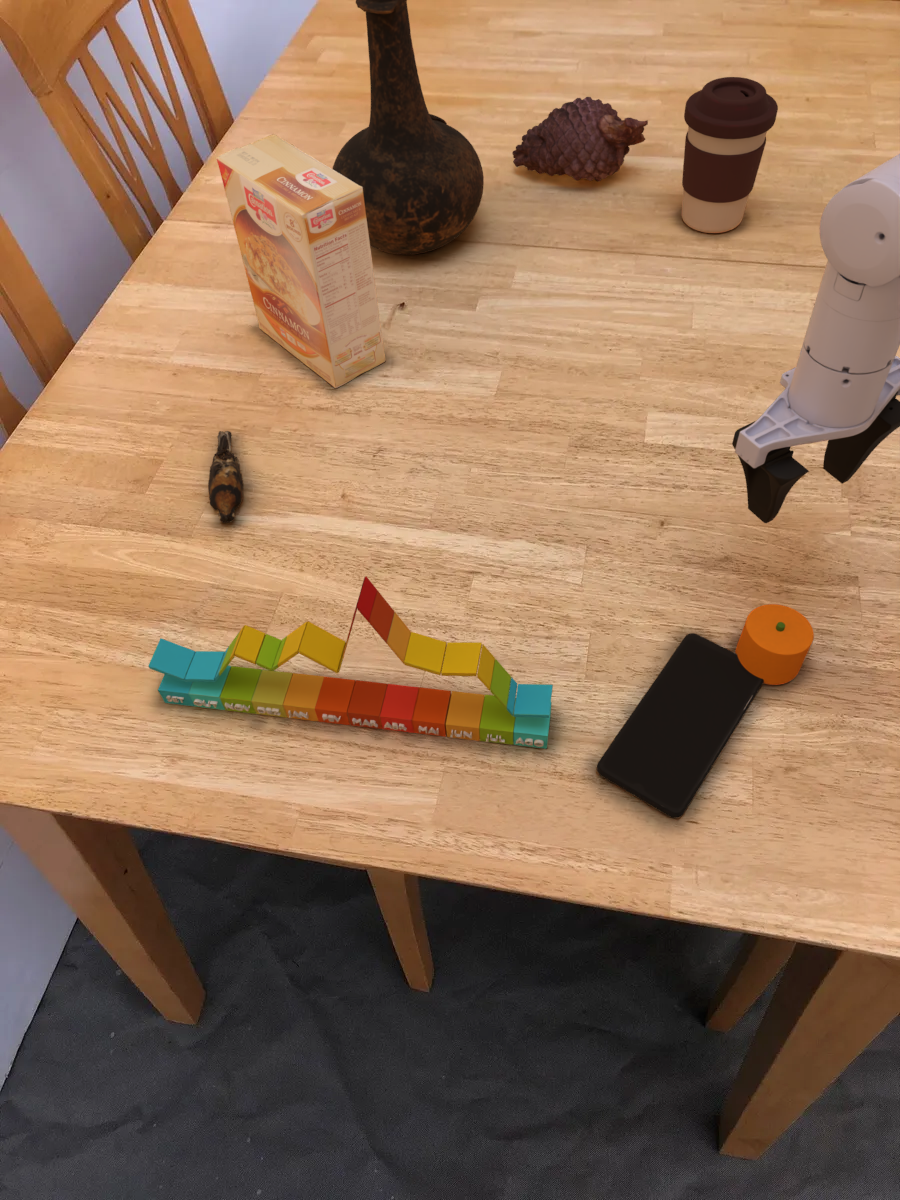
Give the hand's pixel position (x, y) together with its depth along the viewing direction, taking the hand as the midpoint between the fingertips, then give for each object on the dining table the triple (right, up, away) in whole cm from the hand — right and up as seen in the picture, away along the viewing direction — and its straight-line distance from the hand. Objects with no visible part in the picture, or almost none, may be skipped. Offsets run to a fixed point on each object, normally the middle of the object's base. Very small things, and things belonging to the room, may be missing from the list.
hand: (798, 494), depth 71 cm
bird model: (-48, +3, +18) cm, 51 cm away
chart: (-34, -17, +1) cm, 38 cm away
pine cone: (-10, +48, +50) cm, 70 cm away
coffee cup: (+5, +38, +42) cm, 57 cm away
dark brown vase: (-31, +37, +43) cm, 65 cm away
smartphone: (-9, -18, -1) cm, 20 cm away
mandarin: (-2, -13, +2) cm, 13 cm away
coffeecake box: (-41, +20, +31) cm, 55 cm away
